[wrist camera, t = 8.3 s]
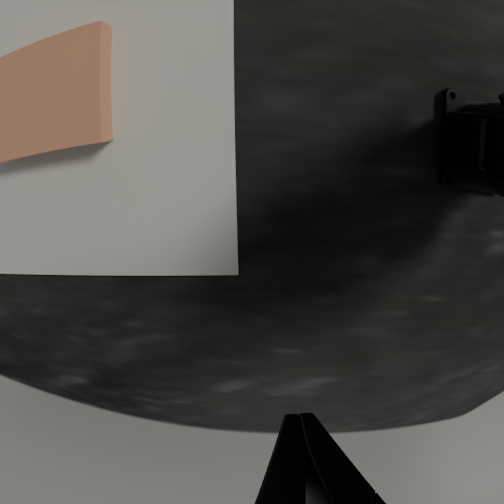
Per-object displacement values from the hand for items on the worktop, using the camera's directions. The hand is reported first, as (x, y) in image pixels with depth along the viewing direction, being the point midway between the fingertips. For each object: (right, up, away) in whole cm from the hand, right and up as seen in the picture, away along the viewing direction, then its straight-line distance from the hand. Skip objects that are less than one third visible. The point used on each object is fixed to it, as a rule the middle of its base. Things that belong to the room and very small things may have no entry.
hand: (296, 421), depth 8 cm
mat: (-12, +15, +7) cm, 20 cm away
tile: (-9, +14, +6) cm, 18 cm away
